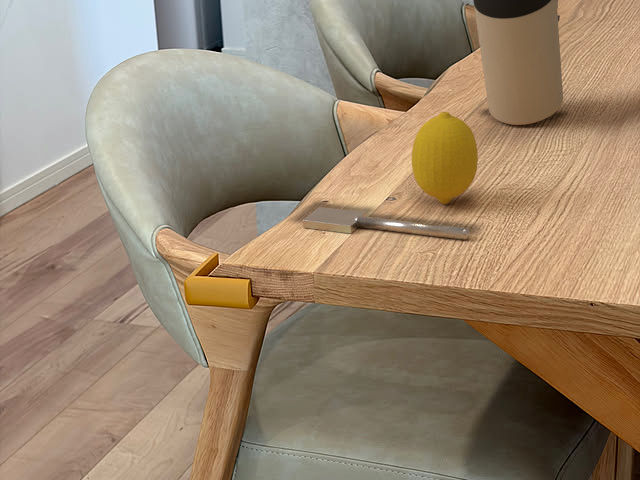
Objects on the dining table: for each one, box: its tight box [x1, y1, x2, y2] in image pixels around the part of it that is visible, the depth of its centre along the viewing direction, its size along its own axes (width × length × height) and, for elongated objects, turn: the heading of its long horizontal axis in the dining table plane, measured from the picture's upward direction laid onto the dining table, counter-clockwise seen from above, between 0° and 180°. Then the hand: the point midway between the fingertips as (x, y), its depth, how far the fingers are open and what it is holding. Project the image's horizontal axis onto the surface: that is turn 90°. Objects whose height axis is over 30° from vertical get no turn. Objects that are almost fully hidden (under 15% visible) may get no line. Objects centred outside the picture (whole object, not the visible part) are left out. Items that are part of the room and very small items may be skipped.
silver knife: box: [302, 206, 471, 241], centre depth 74 cm, size 14×3×1 cm, turn 64°
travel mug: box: [473, 0, 564, 126], centre depth 93 cm, size 8×8×18 cm
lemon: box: [411, 111, 479, 205], centre depth 76 cm, size 6×6×8 cm
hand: (534, 84), depth 102 cm, fingers closed
